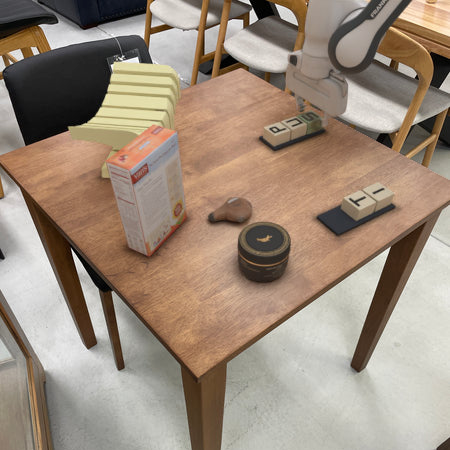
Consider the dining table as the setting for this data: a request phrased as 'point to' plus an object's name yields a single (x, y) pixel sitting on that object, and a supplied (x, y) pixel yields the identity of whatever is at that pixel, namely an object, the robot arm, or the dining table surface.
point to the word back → (286, 133)
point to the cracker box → (149, 188)
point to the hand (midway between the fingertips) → (311, 118)
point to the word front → (358, 208)
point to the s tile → (310, 121)
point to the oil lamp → (232, 210)
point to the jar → (263, 251)
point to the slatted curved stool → (132, 106)
